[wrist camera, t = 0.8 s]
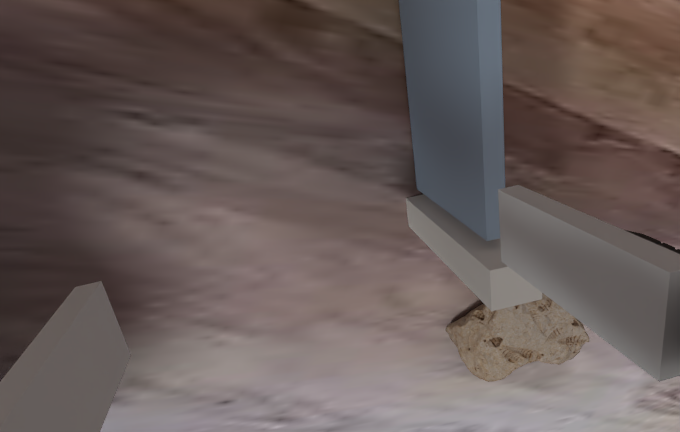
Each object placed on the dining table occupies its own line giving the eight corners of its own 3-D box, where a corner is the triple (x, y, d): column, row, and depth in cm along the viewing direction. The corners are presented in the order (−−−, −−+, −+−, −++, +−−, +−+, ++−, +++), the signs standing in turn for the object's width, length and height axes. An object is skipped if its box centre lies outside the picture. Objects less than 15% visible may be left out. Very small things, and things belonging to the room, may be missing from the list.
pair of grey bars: (408, 226, 37) (491, 311, 24) (376, -76, 30) (471, -188, 17) (442, 218, 38) (542, 299, 25) (419, -81, 30) (544, -195, 17)
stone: (558, 326, 43) (591, 362, 39) (445, 352, 43) (464, 391, 38) (564, 248, 39) (600, 279, 35) (438, 275, 39) (459, 310, 34)
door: (412, 188, 36) (488, 245, 25) (390, -33, 31) (474, -94, 19) (447, 181, 37) (538, 234, 25) (431, -38, 31) (539, -102, 19)
